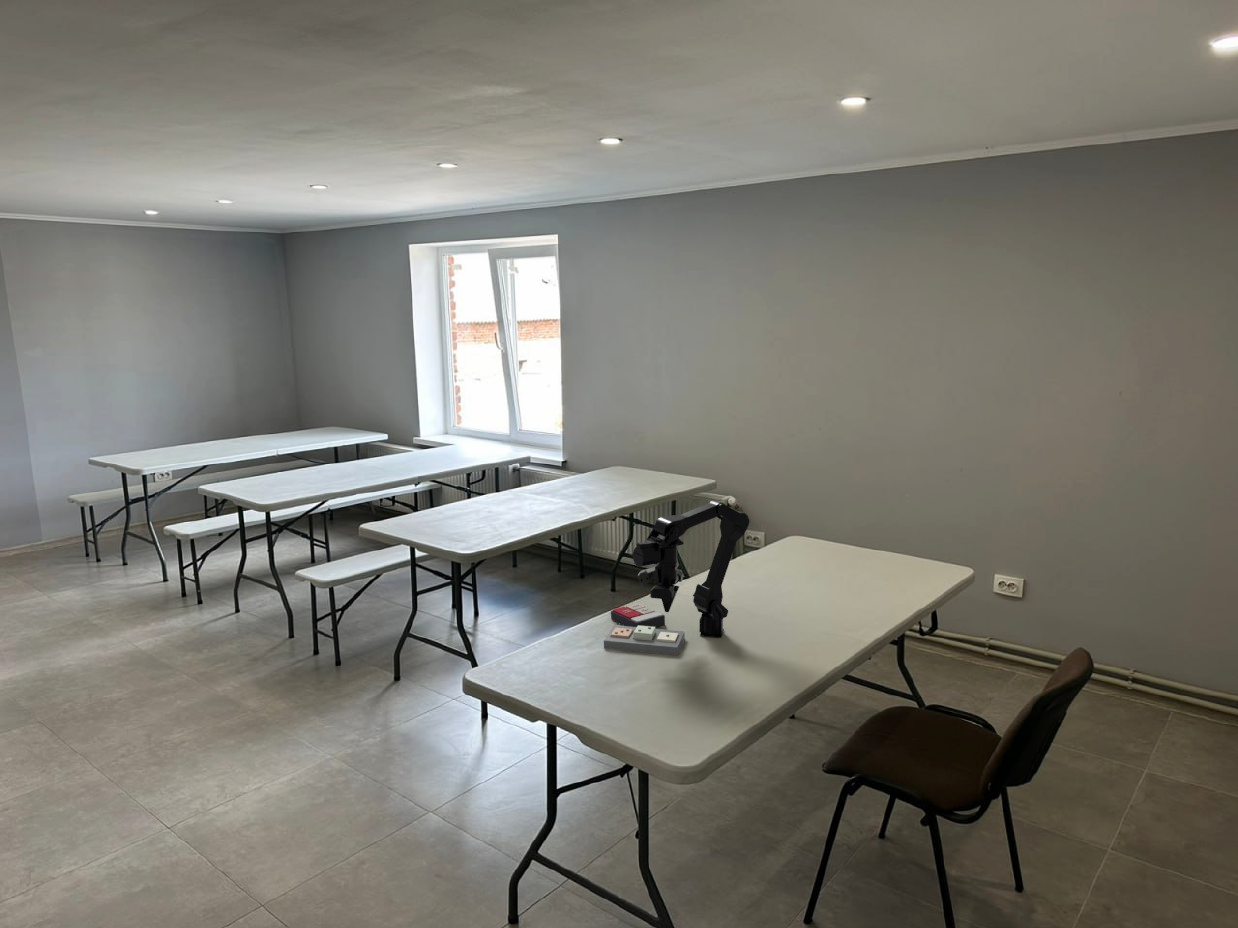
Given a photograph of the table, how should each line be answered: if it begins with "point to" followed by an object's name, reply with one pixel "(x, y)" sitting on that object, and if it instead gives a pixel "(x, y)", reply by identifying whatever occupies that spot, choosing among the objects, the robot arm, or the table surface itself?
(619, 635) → the tile
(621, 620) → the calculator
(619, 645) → the console
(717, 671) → the table surface
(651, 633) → the tile
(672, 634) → the tile
